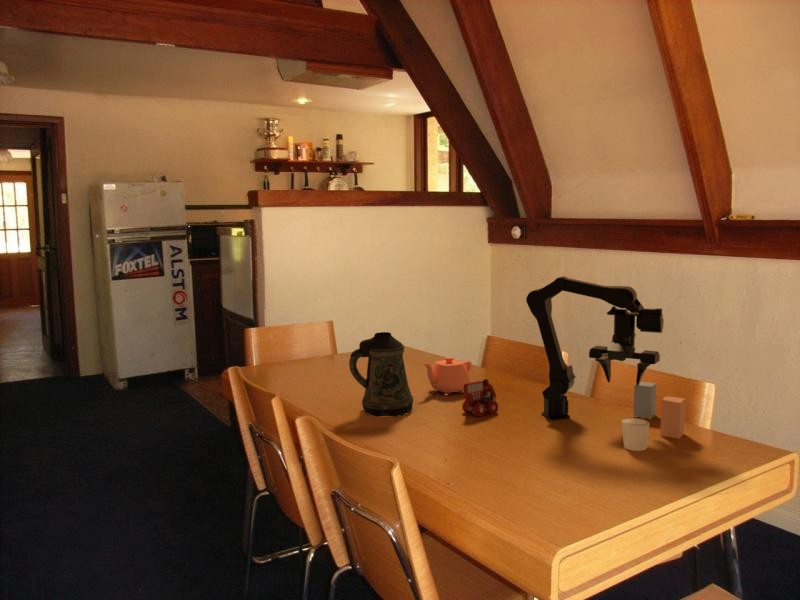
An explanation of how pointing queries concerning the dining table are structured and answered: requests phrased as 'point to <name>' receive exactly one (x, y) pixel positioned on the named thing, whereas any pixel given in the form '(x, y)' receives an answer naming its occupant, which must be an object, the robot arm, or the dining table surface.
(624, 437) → the white cup
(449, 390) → the teapot
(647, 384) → the slate post
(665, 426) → the terracotta post
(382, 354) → the beer stein
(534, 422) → the dining table surface
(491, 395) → the toy fire truck
